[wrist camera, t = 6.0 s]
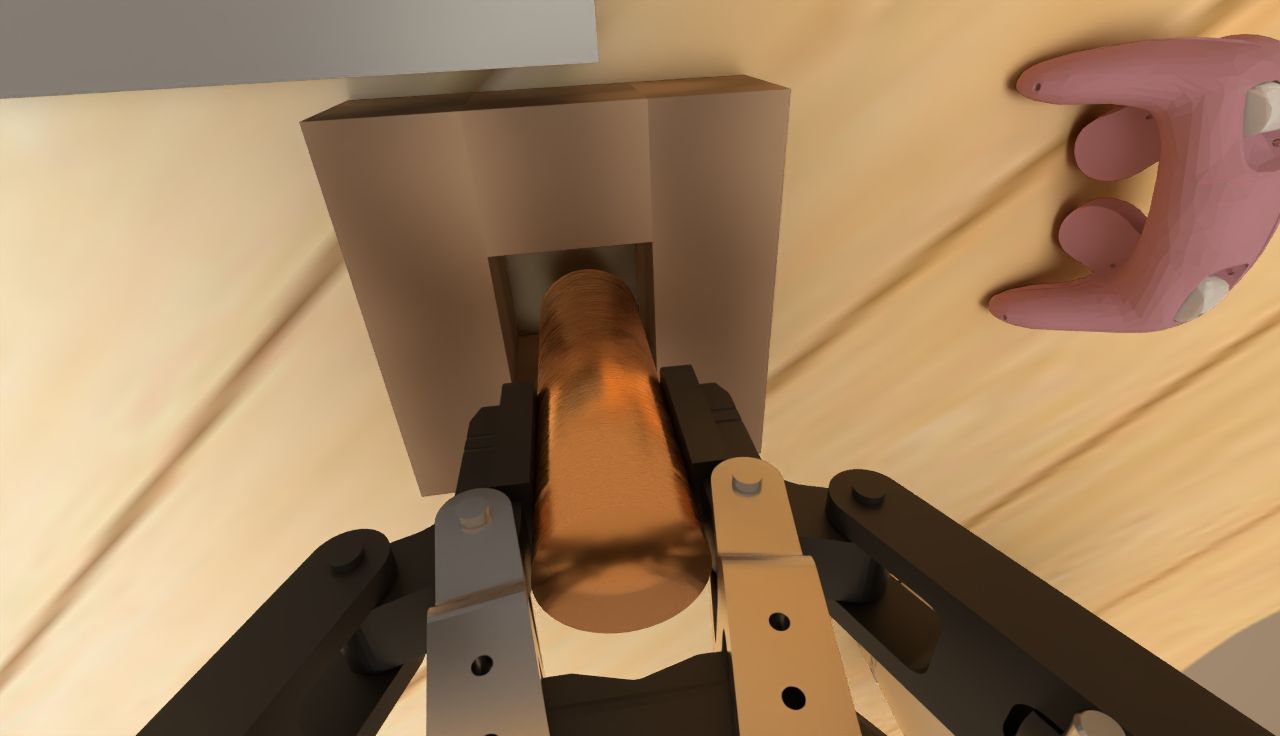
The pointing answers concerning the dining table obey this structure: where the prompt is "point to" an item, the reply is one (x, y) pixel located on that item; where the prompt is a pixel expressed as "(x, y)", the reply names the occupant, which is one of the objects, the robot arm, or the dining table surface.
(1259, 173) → the video game controller
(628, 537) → the pin
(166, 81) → the dock socket
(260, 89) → the dining table surface
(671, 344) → the pin mount
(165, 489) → the dining table surface
